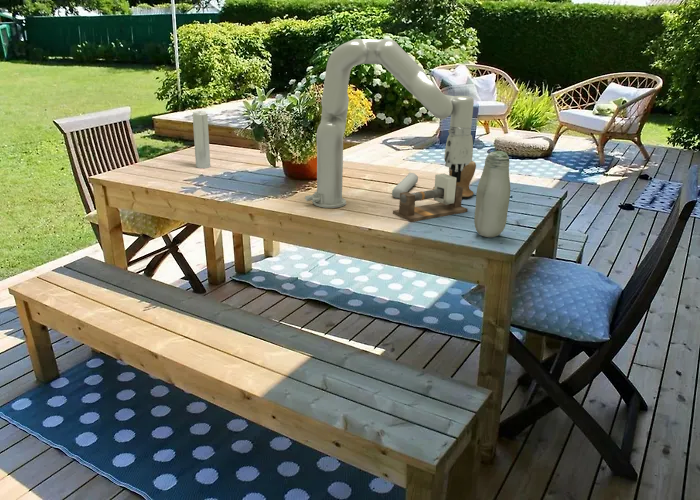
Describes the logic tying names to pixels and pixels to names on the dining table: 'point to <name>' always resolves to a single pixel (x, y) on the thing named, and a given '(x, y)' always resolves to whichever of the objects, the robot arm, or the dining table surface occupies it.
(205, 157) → the grey upright post
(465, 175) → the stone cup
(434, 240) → the dining table surface
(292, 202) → the dining table surface
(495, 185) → the glass bottle
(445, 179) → the cream upright slab
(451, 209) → the pipe stand
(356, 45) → the robot arm
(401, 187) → the tube
